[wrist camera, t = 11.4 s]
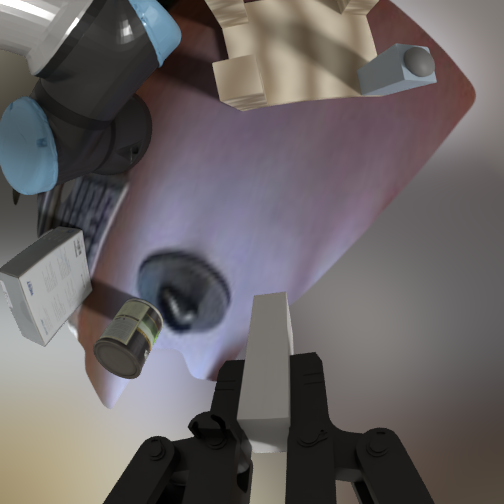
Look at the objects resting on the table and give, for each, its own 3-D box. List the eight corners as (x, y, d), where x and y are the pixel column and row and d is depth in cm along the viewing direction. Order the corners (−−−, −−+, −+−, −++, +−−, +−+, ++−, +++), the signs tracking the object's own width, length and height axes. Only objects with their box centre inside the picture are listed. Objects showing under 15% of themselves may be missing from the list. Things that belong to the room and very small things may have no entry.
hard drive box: (58, 225, 49) (-5, 268, 31) (83, 228, 49) (18, 276, 31) (70, 285, 56) (21, 336, 38) (94, 292, 55) (46, 348, 38)
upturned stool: (241, 111, 38) (220, 101, 23) (220, 13, 31) (190, -37, 15) (381, 96, 34) (436, 85, 19) (355, 0, 27) (389, -47, 12)
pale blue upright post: (361, 95, 33) (409, 78, 19) (356, 70, 32) (399, 41, 17) (386, 95, 32) (441, 81, 18) (380, 70, 31) (432, 45, 16)
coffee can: (171, 317, 56) (148, 365, 43) (152, 341, 60) (130, 385, 47) (132, 289, 54) (100, 332, 41) (116, 315, 58) (88, 356, 45)
